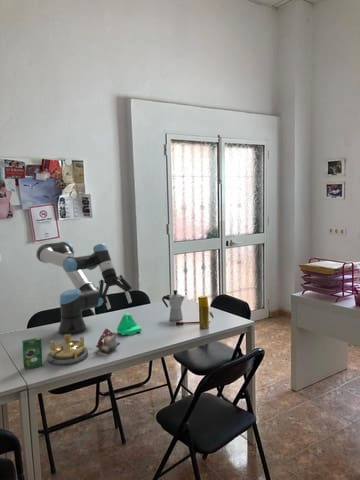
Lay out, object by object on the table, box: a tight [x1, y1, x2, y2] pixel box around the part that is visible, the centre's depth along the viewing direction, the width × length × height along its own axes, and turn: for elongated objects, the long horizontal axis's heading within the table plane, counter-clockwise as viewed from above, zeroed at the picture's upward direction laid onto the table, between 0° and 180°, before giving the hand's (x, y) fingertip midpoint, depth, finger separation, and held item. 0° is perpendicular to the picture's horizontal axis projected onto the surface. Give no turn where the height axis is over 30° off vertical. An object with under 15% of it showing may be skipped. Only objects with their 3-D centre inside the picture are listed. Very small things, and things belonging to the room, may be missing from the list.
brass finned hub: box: [49, 334, 86, 359], centre depth 188 cm, size 16×16×6 cm
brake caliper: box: [95, 328, 121, 356], centre depth 195 cm, size 11×11×12 cm
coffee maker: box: [161, 289, 186, 322], centre depth 243 cm, size 15×9×18 cm, turn 84°
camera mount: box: [116, 313, 142, 336], centre depth 220 cm, size 12×8×10 cm, turn 122°
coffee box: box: [22, 337, 44, 370], centre depth 178 cm, size 8×3×13 cm, turn 120°
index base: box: [46, 347, 89, 367], centre depth 188 cm, size 19×19×5 cm
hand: (120, 305), depth 214 cm, fingers open, 13 cm apart
